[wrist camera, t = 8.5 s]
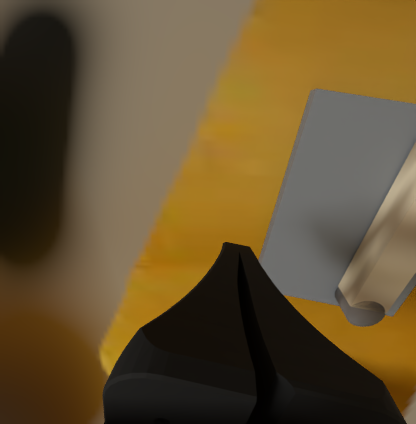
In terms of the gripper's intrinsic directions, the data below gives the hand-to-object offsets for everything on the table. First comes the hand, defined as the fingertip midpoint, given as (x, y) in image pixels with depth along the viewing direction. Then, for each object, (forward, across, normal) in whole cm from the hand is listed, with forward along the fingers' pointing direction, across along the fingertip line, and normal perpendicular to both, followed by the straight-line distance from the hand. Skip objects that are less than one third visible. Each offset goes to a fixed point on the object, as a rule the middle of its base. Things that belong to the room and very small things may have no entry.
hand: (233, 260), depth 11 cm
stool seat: (+9, -11, 0) cm, 14 cm away
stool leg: (+8, -13, 0) cm, 15 cm away
